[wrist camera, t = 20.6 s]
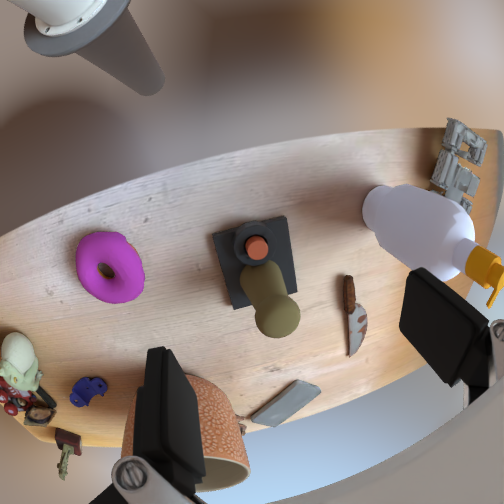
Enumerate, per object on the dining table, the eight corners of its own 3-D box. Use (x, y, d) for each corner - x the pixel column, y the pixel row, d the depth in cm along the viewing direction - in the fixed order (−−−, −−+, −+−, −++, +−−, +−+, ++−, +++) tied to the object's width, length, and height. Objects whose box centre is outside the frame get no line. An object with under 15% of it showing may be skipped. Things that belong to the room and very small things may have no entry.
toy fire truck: (12, 420, 37) (42, 418, 41) (-13, 389, 32) (18, 386, 36) (14, 401, 42) (42, 398, 47) (-9, 368, 37) (21, 365, 42)
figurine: (45, 340, 38) (26, 377, 29) (44, 385, 42) (31, 418, 33) (5, 316, 35) (-19, 348, 26) (9, 365, 39) (-7, 395, 30)
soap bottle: (342, 227, 40) (460, 322, 18) (368, 164, 36) (510, 215, 15) (387, 245, 43) (492, 327, 21) (411, 190, 39) (531, 247, 18)
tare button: (243, 238, 35) (245, 243, 33) (263, 233, 35) (266, 238, 34) (247, 256, 36) (249, 262, 34) (266, 251, 36) (269, 257, 35)
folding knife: (57, 408, 44) (50, 408, 44) (59, 404, 45) (52, 404, 45) (31, 381, 40) (24, 382, 40) (33, 377, 41) (26, 378, 41)
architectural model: (449, 260, 44) (436, 247, 49) (492, 144, 32) (475, 137, 36) (411, 252, 42) (397, 238, 47) (458, 118, 30) (439, 113, 34)
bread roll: (22, 426, 38) (18, 414, 40) (48, 428, 45) (43, 416, 47) (30, 408, 38) (26, 395, 40) (58, 411, 46) (54, 399, 47)
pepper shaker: (285, 287, 41) (311, 334, 31) (246, 301, 41) (262, 352, 31) (275, 252, 38) (303, 295, 28) (234, 267, 38) (247, 315, 28)
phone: (299, 382, 51) (297, 378, 52) (249, 421, 54) (248, 417, 55) (322, 391, 54) (320, 387, 55) (274, 427, 57) (273, 423, 59)
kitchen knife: (368, 349, 52) (349, 361, 51) (364, 345, 54) (345, 356, 53) (370, 268, 42) (346, 281, 42) (364, 264, 44) (340, 276, 43)
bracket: (65, 396, 39) (65, 389, 41) (80, 410, 41) (79, 403, 43) (96, 375, 43) (96, 368, 45) (111, 390, 44) (110, 383, 46)
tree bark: (237, 432, 58) (241, 439, 55) (203, 417, 52) (207, 424, 50) (254, 419, 59) (258, 425, 56) (221, 402, 53) (225, 409, 51)
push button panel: (210, 228, 36) (211, 236, 34) (283, 210, 37) (290, 216, 34) (232, 305, 42) (235, 317, 39) (295, 288, 43) (301, 298, 40)
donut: (78, 225, 32) (65, 237, 28) (147, 228, 35) (140, 240, 30) (87, 290, 36) (77, 307, 32) (149, 295, 39) (145, 313, 34)
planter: (201, 342, 44) (211, 443, 26) (249, 402, 53) (268, 478, 36) (108, 375, 43) (93, 460, 26) (168, 426, 53) (170, 496, 35)
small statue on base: (83, 446, 55) (81, 486, 42) (59, 439, 52) (55, 478, 39) (81, 434, 52) (77, 478, 39) (55, 426, 49) (49, 469, 36)
